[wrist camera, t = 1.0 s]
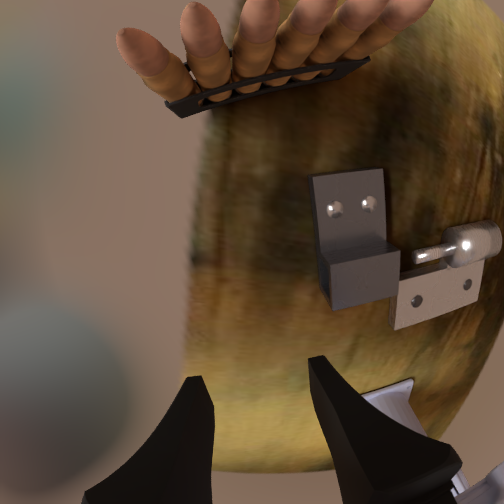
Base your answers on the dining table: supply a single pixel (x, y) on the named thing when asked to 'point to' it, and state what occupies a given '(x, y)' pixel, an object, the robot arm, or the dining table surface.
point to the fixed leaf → (445, 274)
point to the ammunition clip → (264, 49)
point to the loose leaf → (353, 237)
